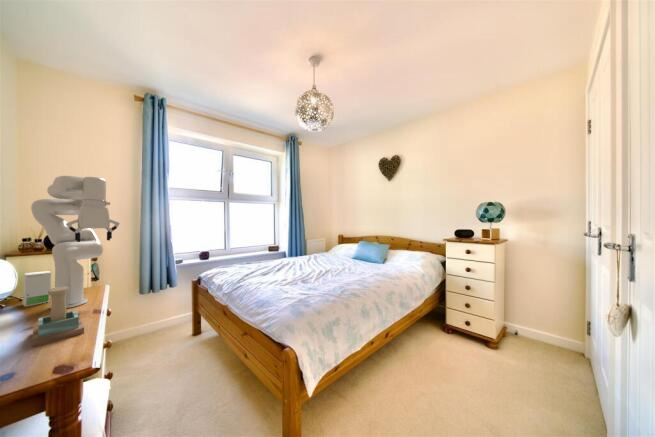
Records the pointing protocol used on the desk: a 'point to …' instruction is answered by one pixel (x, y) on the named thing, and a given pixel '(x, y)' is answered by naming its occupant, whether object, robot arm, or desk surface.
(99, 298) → the desk surface
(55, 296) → the handle
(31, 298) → the skincare box
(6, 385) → the desk surface
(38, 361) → the desk surface
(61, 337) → the teal open box
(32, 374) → the desk surface
